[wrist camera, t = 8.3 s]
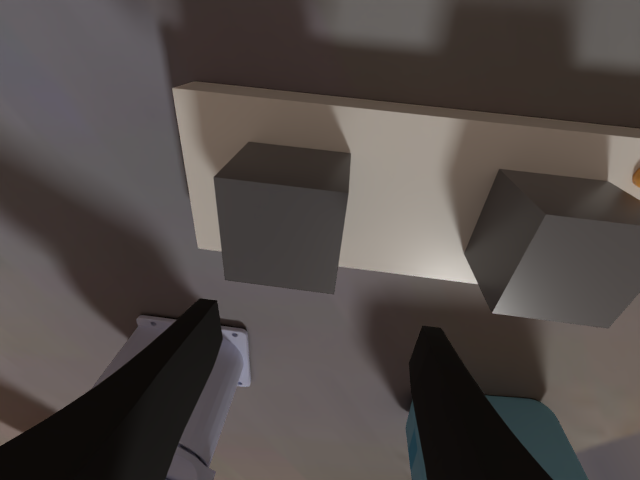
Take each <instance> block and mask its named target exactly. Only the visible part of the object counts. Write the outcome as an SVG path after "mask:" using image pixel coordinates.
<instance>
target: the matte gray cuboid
mask: <svg viewBox="0 0 640 480" xmlns="http://www.w3.org/2000/svg"><path fill="white" fill-rule="evenodd" d="M350 164H351V153H345V152H336V151H327V150H318V149H309V148H300V147H292V146H283V145H274V144H265V143H256V142H248V143H247V144H246V145H245V146H244V147H243V148H242V149H241V150H240V151H239V152H238V153H237V154H236V155H235V156H234V157H233V158H232V159H231V160H230V161H229V162H228V163H227V164H226V165H225V166H224V167H223V168H222V169H221V170H220V171H219V172H218V173H217V174H216V175H215V176H214V177H213V178H214V187H215V196H216V205H217V214H218V223H219V231H220V240H221V249H222V258H223V267H224V276H225V280H228V281H236V282H243V283H251V284H259V285H266V286H274V287H282V288H289V289H297V290H304V291H312V292H320V293H327V294H334V291H335V285H336V278H337V271H338V264H339V257H340V250H341V243H342V236H343V229H344V222H345V215H346V208H347V201H348V194H349V180H350Z"/></svg>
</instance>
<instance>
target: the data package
mask: <svg viewBox="0 0 640 480" xmlns="http://www.w3.org/2000/svg"><path fill="white" fill-rule="evenodd" d="M485 396H486V398H487V399H488V400H489V402H490V403H491V405H492V406H493V407H494V409H495V410H496V411H497V413H498V414H499V415H500V417H501V418H502V419H503V421H504V422H505V423H506V425H507V426H508V427H509V428H510V430H511V431H512V432H513V433H514V435H515V436H516V437H517V438H518V440H519V441H520V442H521V443H522V444H523V446H524V447H525V448H526V449H527V450H528V452H529V453H530V454H531V455H532V456H533V457H534V459H535V460H536V461H537V462H538V463H539V464H540V465H541V467H542V468H543V469H544V470H545V471H546V472H547V473H548V474H549V476H550V477H551V478H552V479H553V480H588V478H587V476H586V474H585V472H584V470H583V468H582V466H581V464H580V462H579V460H578V459H577V456H576V454H575V452H574V450H573V448H572V446H571V444H570V442H569V441H568V439H567V437H566V435H565V433H564V431H563V429H562V427H561V425H560V423H559V421H558V419H557V417H556V416H555V414H554V413H553V412H552V411H551V410H550V409H549V408H548V407H547V406H545V405H544V404H542V403H541V402H539V401H536V400H533V399H528V398H516V397H503V396H490V395H485ZM406 435H407V443H408V452H409V460H410V469H411V477H412V480H427V477H426V471H425V464H424V459H423V453H422V448H421V443H420V438H419V432H418V427H417V422H416V416H415V411H414V405H413V400H412V403H411V407H410V411H409V415H408V420H407V424H406Z"/></svg>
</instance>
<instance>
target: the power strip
mask: <svg viewBox="0 0 640 480" xmlns="http://www.w3.org/2000/svg"><path fill="white" fill-rule="evenodd" d="M172 91H173V97H174V103H175V109H176V115H177V122H178V128H179V134H180V140H181V146H182V152H183V158H184V165H185V171H186V177H187V183H188V189H189V195H190V202H191V208H192V214H193V220H194V226H195V232H196V238H197V245H198V248H199V249H206V250H214V251H222V249H221V240H220V231H219V223H218V214H217V205H216V196H215V187H214V178H213V177H214V176H215V175H216V174H217V173H218V172H219V171H220V170H221V169H222V168H223V167H224V166H225V165H226V164H227V163H228V162H229V161H230V160H231V159H232V158H233V157H234V156H235V155H236V154H237V153H238V152H239V151H240V150H241V149H242V148H243V147H244V146H245V145H246V144H247V143H248V142H256V143H265V144H274V145H283V146H292V147H300V148H309V149H318V150H327V151H336V152H345V153H351V164H350V180H349V194H348V201H347V208H346V215H345V222H344V229H343V236H342V243H341V250H340V257H339V264H338V266H340V267H348V268H356V269H363V270H371V271H379V272H387V273H395V274H403V275H410V276H418V277H426V278H434V279H442V280H450V281H458V282H465V283H473V284H478V285H479V287H480V289H481V291H482V293H483V295H484V297H485V300H486V302H487V304H488V306H489V308H490V310H491V312H492V313H494V314H502V315H509V316H517V317H525V318H532V319H540V320H547V321H555V322H563V323H570V324H578V325H586V326H593V327H601V328H609V327H610V326H611V325H612V324H613V322H614V321H615V320H616V319H617V318H618V317H619V316H620V314H621V313H622V312H623V311H624V310H625V309H626V307H627V306H628V305H629V304H630V303H631V302H632V301H633V299H634V298H635V297H636V296H637V295H638V294H639V293H640V128H630V127H621V126H611V125H602V124H593V123H583V122H574V121H564V120H555V119H546V118H536V117H527V116H517V115H508V114H499V113H489V112H480V111H470V110H461V109H452V108H442V107H433V106H423V105H414V104H405V103H395V102H386V101H376V100H367V99H358V98H348V97H339V96H329V95H320V94H310V93H301V92H292V91H282V90H273V89H263V88H254V87H245V86H235V85H226V84H216V83H207V82H198V81H194V82H190V83H187V84H184V85H180V86H177V87H174V88H172Z"/></svg>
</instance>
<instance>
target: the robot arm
mask: <svg viewBox="0 0 640 480" xmlns="http://www.w3.org/2000/svg"><path fill="white" fill-rule="evenodd" d="M136 321H137V324H138V327H137V328H136V330H135V331H134V332H133V334H132V335H131V336H130V338H129V339H128V340H127V342H126V343H125V344H124V346H123V347H122V348H121V350H120V351H119V352H118V354H117V355H116V356H115V358H114V359H113V360H112V362H111V363H110V364H109V366H108V367H107V368H106V370H105V371H104V372H103V374H102V375H101V376H100V378H99V379H98V380H97V382H96V383H95V385H94V386H93V388H92V389H91V390H90V391H88V392H87V393H85V394H84V395H82V396H81V397H79V398H78V399H76V400H75V401H73V402H72V403H70V404H69V405H67V406H66V407H64V408H63V409H61V410H60V411H58V412H57V413H55V414H53V415H52V416H50V417H49V418H47V419H46V420H44V421H42V422H41V423H39V424H37V425H36V426H34V427H32V428H31V429H29V430H27V431H25V432H24V433H22V434H20V435H19V436H17V437H15V438H14V439H12V440H10V441H8V442H7V443H5V444H3V445H1V446H0V480H213V479H214V476H215V473H216V472H215V471H214V470H212V469H210V468H209V466H210V463H211V460H212V457H213V454H214V451H215V448H216V446H217V443H218V440H219V437H220V434H221V431H222V428H223V425H224V422H225V419H226V416H227V413H228V411H229V408H230V405H231V402H232V399H233V396H234V393H235V390H236V387H237V386H242V387H248V386H250V383H251V374H250V360H249V345H248V333H247V331H246V330H245V329H242V328H234V327H227V326H221V323H220V317H219V310H218V304H217V301H216V300H208V299H199V300H198V301H197V302H195V303H194V304H193V305H192V306H191V307H190V308H189V309H188V310H187V311H186V312H185V313H184V314H183V315H181V316H180V317H179V318H178V319H177V320H176V319H168V318H161V317H154V316H147V315H140V316H139V317H138V318H137V319H136ZM409 369H410V384H411V394H412V400H413V405H414V411H415V416H416V422H417V427H418V432H419V438H420V443H421V448H422V453H423V459H424V464H425V471H426V477H427V480H553V479H552V478H551V477H550V476H549V474H548V473H547V472H546V471H545V470H544V469H543V468H542V467H541V465H540V464H539V463H538V462H537V461H536V460H535V459H534V457H533V456H532V455H531V454H530V453H529V452H528V450H527V449H526V448H525V447H524V446H523V444H522V443H521V442H520V441H519V440H518V438H517V437H516V436H515V435H514V433H513V432H512V431H511V430H510V428H509V427H508V426H507V425H506V423H505V422H504V421H503V419H502V418H501V417H500V415H499V414H498V413H497V411H496V410H495V409H494V407H493V406H492V405H491V403H490V402H489V400H488V399H487V398H486V396H485V395H484V394H483V392H482V391H481V389H480V388H479V386H478V385H477V383H476V382H475V380H474V379H473V378H472V376H471V375H470V373H469V372H468V370H467V369H466V367H465V366H464V364H463V362H462V361H461V359H460V358H459V356H458V355H457V353H456V351H455V350H454V348H453V347H452V345H451V343H450V342H449V340H448V339H447V337H446V335H445V334H444V332H443V331H442V329H441V328H436V327H428V326H422V329H421V331H420V334H419V337H418V340H417V342H416V345H415V348H414V351H413V354H412V356H411V359H410V362H409Z"/></svg>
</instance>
